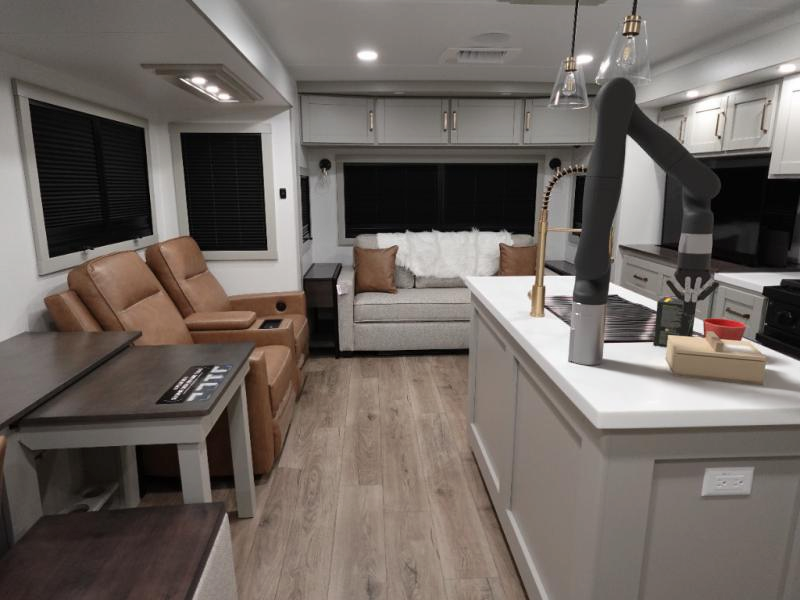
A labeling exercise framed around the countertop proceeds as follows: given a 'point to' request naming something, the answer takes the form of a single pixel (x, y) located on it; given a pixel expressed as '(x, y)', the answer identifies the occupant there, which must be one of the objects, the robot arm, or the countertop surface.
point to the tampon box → (671, 320)
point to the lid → (715, 347)
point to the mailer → (715, 367)
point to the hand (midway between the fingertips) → (688, 314)
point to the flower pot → (724, 328)
